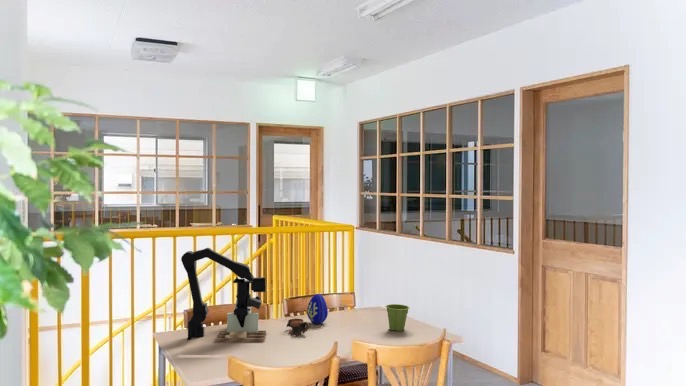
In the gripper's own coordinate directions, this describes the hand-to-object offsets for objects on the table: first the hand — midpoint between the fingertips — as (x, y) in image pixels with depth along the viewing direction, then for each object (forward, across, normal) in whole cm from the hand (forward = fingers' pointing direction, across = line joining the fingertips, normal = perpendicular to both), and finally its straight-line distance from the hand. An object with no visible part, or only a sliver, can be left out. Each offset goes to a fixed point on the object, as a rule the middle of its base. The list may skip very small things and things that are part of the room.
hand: (242, 326), depth 246 cm
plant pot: (+5, +13, -74) cm, 75 cm away
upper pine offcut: (+2, -8, +1) cm, 9 cm away
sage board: (+4, 0, 0) cm, 4 cm away
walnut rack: (+5, -4, 0) cm, 6 cm away
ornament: (+5, +26, -35) cm, 44 cm away
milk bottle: (+5, +16, +2) cm, 17 cm away
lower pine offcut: (+4, -8, +2) cm, 10 cm away
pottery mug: (+5, +6, -25) cm, 26 cm away
